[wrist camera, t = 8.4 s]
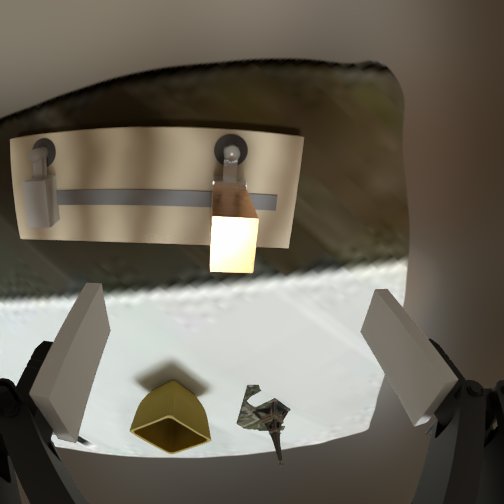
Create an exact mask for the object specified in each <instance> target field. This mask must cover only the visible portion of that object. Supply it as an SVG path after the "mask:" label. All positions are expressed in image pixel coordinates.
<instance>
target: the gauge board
mask: <svg viewBox="0 0 504 504" xmlns="http://www.w3.org/2000/svg"><path fill="white" fill-rule="evenodd" d="M303 143H304V137H302V136H298V135H290V134H282V133H273V132H263V131H252V130H239V129H225V128H205V127H115V128H96V129H83V130H71V131H61V132H52V133H43V134H36V135H28V136H22V137H17V138H13V139H10V155H11V171H12V183H13V193H14V201H15V209H16V216H17V222H18V228H19V234H20V239H40V240H74V241H105V242H135V243H164V244H192V245H210V222H211V203H212V186H213V176H223V166H224V152H223V150H224V147H225V146H226V145H228V144H234V145H236V146H237V147H239V151H240V157H239V158H238V164H237V176H236V177H244V178H245V180H246V182H247V191H248V193H249V196H250V198H251V201H252V203H253V206H254V208H255V210H256V213H257V215H258V218H259V222H258V231H257V240H256V247H272V248H289V242H290V235H291V229H292V222H293V215H294V208H295V202H296V195H297V188H298V180H299V173H300V166H301V158H302V150H303Z"/></svg>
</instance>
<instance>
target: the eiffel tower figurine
mask: <svg viewBox="0 0 504 504" xmlns="http://www.w3.org/2000/svg"><path fill="white" fill-rule="evenodd" d="M260 391H261V390H260V388H259V385H247V389H246V393H245V396H244V399H243V403H242V407H241V411H240V414H239V417H238V420H237V424H238V425H240V426H241V427H243V428H245V429H254V430H255V429H258V430H259V431H269V434H270V435H271V437H272V440H273V443H274V446H275V449H276V453H277V456H278V459H279V465H280V466H281V467H282V466H283V462H282V455H281V447H280V434H281V433H280V430H284V428H285V426H281V424H282V423H284V422H283V420H284V418H285V416H286V415H287V413H288V412H289V411H290V410H291V409H289V408H288V407H286V406H285V405H284V404H282V403H281V402H280V401H278V400H277V399H275V398H274V399H272V400H270V401H268V402H266V403H264V404H262V405H260V406H258V407H253V406H252V405H250V404H249V403H248V402H247V400H248V399H249V398H250V397H251V396H252V395H254V394H256V393H258V392H260ZM281 414H282V415H281Z"/></svg>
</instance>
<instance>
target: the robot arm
mask: <svg viewBox="0 0 504 504" xmlns="http://www.w3.org/2000/svg"><path fill="white" fill-rule="evenodd" d="M360 332H361V334H362V335H363V337H364V339H365V340H366V342H367V344H368V345H369V347H370V349H371V350H372V352H373V354H374V355H375V357H376V359H377V361H378V362H379V364H380V366H381V368H382V369H383V371H384V373H385V375H386V376H387V378H388V380H389V382H390V383H391V385H392V387H393V389H394V390H395V392H396V394H397V396H398V398H399V399H400V401H401V403H402V405H403V407H404V409H405V410H406V412H407V414H408V416H409V418H410V420H411V422H412V423H413V425H414V426H416V425H420V424H423V423H426V422H427V421H428V420H429V419H430V418H431V417H432V415H433V414H435V416H436V418H437V419H436V420H435V421H434V422H433V424H432V425H431V426H430V427H429V428H428V430H427V431H426V433H425V434H428V433H429V432H430V431H431V430H432V433H431V435H430V436H431V437H430V442H429V446H428V450H427V454H426V458H425V462H424V465H423V469H422V472H421V476H420V479H419V482H418V485H417V488H416V491H415V494H414V497H413V500H412V503H411V504H504V380H500V381H498V382H497V383H496V385H495V386H494V388H493V389H484V388H483V387H482V386H481V385H480V384H479V383H478V382H476V381H473V380H465V378H464V377H463V376H462V374H461V373H460V372H459V371H458V369H457V368H456V366H455V365H454V364H453V363H452V361H451V360H449V357H448V356H447V354H445V352H444V351H443V349H442V348H441V347H440V346H439V345H438V344H437V343H436V342H434V341H433V340H431V339H428V338H427V337H426V336H425V335H424V333H423V332H422V331H421V330H420V328H419V327H418V326H417V324H416V323H415V322H414V321H413V319H412V318H411V317H410V316H409V315H408V313H407V312H406V311H405V310H404V308H403V307H402V306H401V305H400V304H399V302H398V301H397V300H396V299H395V298H394V296H393V295H392V294H391V293H390V292H389V291H388V289H375V291H374V294H373V297H372V300H371V303H370V306H369V309H368V312H367V315H366V318H365V320H364V323H363V326H362V329H361V331H360ZM109 333H110V326H109V321H108V316H107V311H106V306H105V301H104V295H103V290H102V284H98V283H86V285H85V286H84V288H83V290H82V291H81V293H80V295H79V297H78V298H77V300H76V302H75V303H74V305H73V307H72V309H71V310H70V312H69V314H68V316H67V318H66V319H65V321H64V323H63V325H62V327H61V329H60V331H59V332H58V334H57V336H56V338H55V340H54V342H49V341H43V342H42V343H41V344H40V345H39V346H38V347H37V348H36V349H35V350H34V352H33V354H32V356H31V360H29V362H28V364H27V367H26V368H25V370H24V372H23V374H22V376H21V378H20V380H19V382H18V384H17V386H15V385H14V383H13V382H12V381H11V380H9V379H5V378H1V379H0V504H22V503H21V499H20V495H19V490H18V485H17V480H16V475H15V471H16V473H17V476H18V478H19V480H20V483H21V485H22V487H23V489H24V491H25V494H26V496H27V498H28V500H29V502H30V504H89V503H88V502H87V500H86V499H85V497H84V496H83V494H82V493H81V491H80V489H79V488H78V486H77V485H76V483H75V481H74V480H73V478H72V476H71V475H70V473H69V471H68V470H67V468H66V466H65V464H64V462H63V461H62V459H61V457H60V455H59V453H58V451H57V449H56V447H55V445H54V443H53V442H52V441H51V436H52V433H53V432H54V433H55V435H56V436H57V438H58V439H61V440H65V441H69V442H74V443H76V442H77V438H78V434H79V430H80V426H81V423H82V419H83V415H84V411H85V408H86V404H87V401H88V397H89V394H90V391H91V387H92V384H93V381H94V378H95V375H96V372H97V368H98V365H99V362H100V359H101V356H102V353H103V350H104V348H105V345H106V342H107V339H108V336H109ZM496 421H497V424H498V426H497V427H496V429H493V424H494V423H495V422H496Z"/></svg>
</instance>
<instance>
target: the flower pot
mask: <svg viewBox="0 0 504 504" xmlns="http://www.w3.org/2000/svg"><path fill="white" fill-rule="evenodd" d="M130 432H131V433H133V434H134V435H136V436H137V437H139V438H141V439H143V440H144V441H146V442H148V443H150V444H152V445H153V446H155V447H157V448H159V449H161V450H163V451H165V452H167V453H169V454H174V453H178V452H181V451H184V450H187V449H190V448H193V447H196V446H199V445H202V444H205V443H208V442H209V441H211V436H210V431H209V425H208V420H207V415H206V412H205V410H204V408H203V406H202V404H201V403H200V401H199V400H198V399H197V397H196V396H195V395H194V394H193V393H191V392H190V391H189V390H187V389H186V388H184V387H183V386H182V385H181V384H179V383H178V382H177V381H175V380H172V381H170V382H168V383H166V384H164V385H162V386H160V387H158V388H156V389H154V390H152V391H151V392H150V393H149V394H148V395H147V396H146V397H145V398H144V399H143V400H142V401H141V403H140V405H139V406H138V409H137V411H136V414H135V417H134V420H133V422H132V425H131V428H130Z"/></svg>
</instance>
